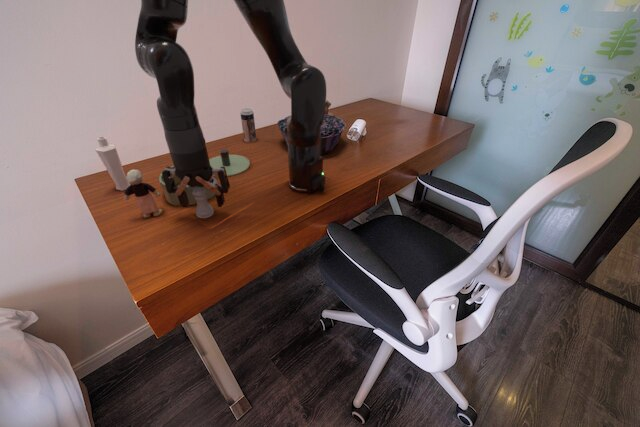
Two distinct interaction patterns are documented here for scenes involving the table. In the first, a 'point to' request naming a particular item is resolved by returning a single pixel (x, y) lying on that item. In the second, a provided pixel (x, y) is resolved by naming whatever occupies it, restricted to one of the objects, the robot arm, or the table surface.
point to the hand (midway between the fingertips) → (203, 205)
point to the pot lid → (230, 163)
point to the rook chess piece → (202, 203)
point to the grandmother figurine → (142, 194)
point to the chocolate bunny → (327, 107)
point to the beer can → (248, 125)
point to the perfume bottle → (112, 163)
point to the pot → (173, 198)
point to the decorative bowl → (322, 131)
